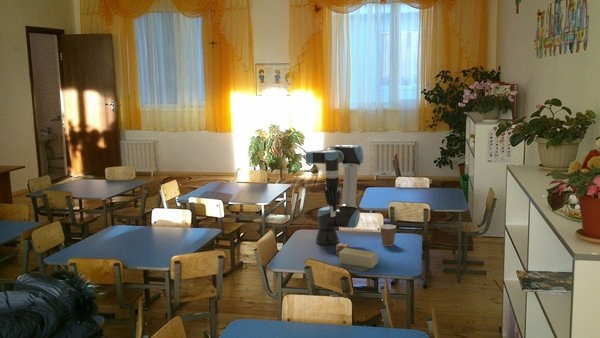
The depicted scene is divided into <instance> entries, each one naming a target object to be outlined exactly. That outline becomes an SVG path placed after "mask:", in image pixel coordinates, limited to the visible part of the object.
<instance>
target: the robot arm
mask: <svg viewBox="0 0 600 338" xmlns="http://www.w3.org/2000/svg"><path fill="white" fill-rule="evenodd" d="M305 162H306V163H307V164H311V165H312V164H316V165H317V164H318V165H319V164H322V165H325V184H326V186H325V187H322V189H323V192H324V196H325V201H326V204H327V206H323V207H321V208H318V210H317V223H318V224H317V226H318V227H317V230H318V231H317V234H316V238H315V243H316V244H317V245H320V246H321V245H322V246H333V245H334V246H335V245H337V244H339V243H340V238H339V234H338V231H337V228H345V229H355V228H357V227H358V225H359V222H360V217H361V216H360V215H361V213H360V210H359V209H358V207H357V205H356V197H357V187H358V186H357V184H358V171H359V170H358V169H359V168H360V167H361V164H363V163H364V152H363V148H362V147H361V145H356V144H336V145H332V146H328V147H325V148H324V149H318V150H308V151H306V153H305ZM339 164H342V167H343V168H344V170H343V171H344V172H343V185H342V189H340V187H339V184H340V179H339V178H340V177H339V176H340V174H339V172H340V171H339ZM341 194H342V195H341ZM341 196H342V199H341ZM340 200H341V204H340ZM338 205H339V207H338V208H337V206H338Z"/></svg>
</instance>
